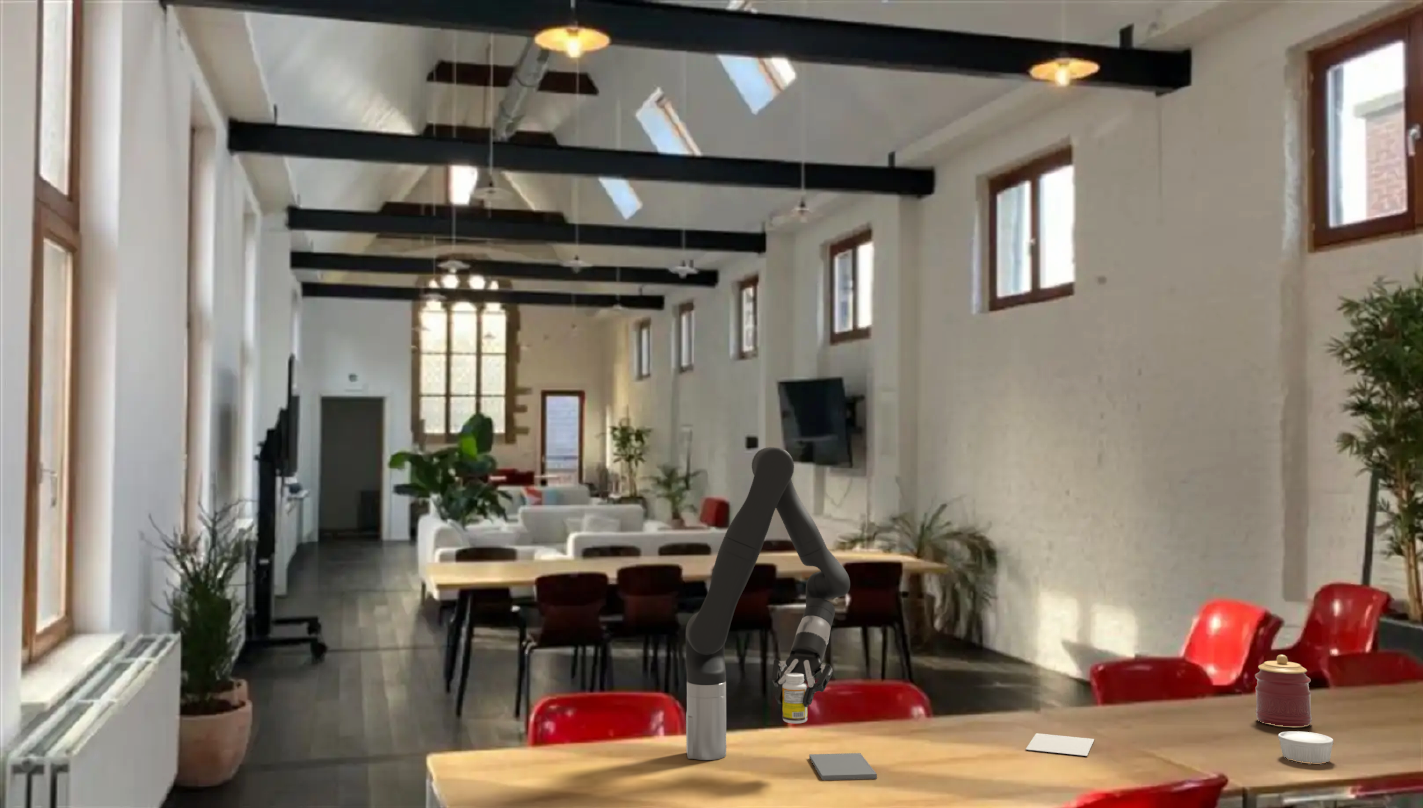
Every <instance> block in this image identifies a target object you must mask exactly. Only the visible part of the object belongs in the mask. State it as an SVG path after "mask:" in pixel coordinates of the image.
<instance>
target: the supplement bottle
mask: <svg viewBox="0 0 1423 808" xmlns="http://www.w3.org/2000/svg"><path fill="white" fill-rule="evenodd" d="M808 687H809V686H808V683H806V682H805V680H804V675H803V674H801V673H788V674H786V682H785V683H784V684H783V687H782V697H783V702H782V720H783V722H785V723H788V724H802V723H807V721H808V707H804V705H803V698H804V695H805V692H806V688H808Z"/></svg>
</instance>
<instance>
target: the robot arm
mask: <svg viewBox="0 0 1423 808" xmlns="http://www.w3.org/2000/svg"><path fill="white" fill-rule="evenodd" d="M751 470H752V474H753V479H752V483H751V485H750V488H749V491H748V493H747V496H746V498H745V501H744V502H743V504H742V505H741V507H740V509H739V510H738V511H737V513H736V514H735V516H734V518H733V520H732V521H731V523H730V524H729V526H728V528H727V530H726V531H725V535H724V537H723V539H722V541H721V544H720V547H719V549H718V552H717V555H716V558H715V563H714V566H713V570H712V575H711V579H710V585H709V588H708V591H707V594H706V597H705V599H704V601H703V602H702V605H701V606H700V608H699V611H697V612H696V613H694V614H693V615H692V616H690V618H689V620H688V621H687V624H686V627H685V668H686V669H685V670H686V713H685V714H686V715H685V719H686V720H685V723H686V724H685V728H686V731H685V732H686V735H685V736H686V737H685V738H686V740H685V741H686V742H685V743H686V745H685V747H686V750H685V751H686V758H687V759H688V760H689V759H692V760H693V759H694V760H700V761H711V760H712V761H713V760H719V759H723V758H725V757H726V756H727V669H726V659H725V643H726V642H727V638H728V635H729V631H730V628H731V623H732V620H733V616H734V613H735V610H736V607H737V604H738V602H739V599H740V597H741V595H742V593H743V591H744V590H745V587H746V586H747V583H748V581H749V579H750V577H751V575H752V573H753V571H754V567H755V566H756V563H757V561H758V559H759V556H760V554H761V551H762V548H763V545H764V543H765V540H766V536H767V534H768V532H769V529H770V525H771V523H772V522H771V521H772V520H773V519H772V518H773V516H774V513H775V510H777V512H778V515H779V516H780V519H781V521H782V523H783V524H784V528H785V530H786V532H787V533H788V536H789V538H790V540H791V543H792V545H793V547H794V549H795V551H796V554H797V555H798V557H799V560H800V561H801V563H802V564H803V565H804V566H806V567H814V568H817V569H818V570H819V571H817V572H814V573H812V574H811V575H810V576H809V578H808V579H807V580H806V584H805V608H804V611H803V614H802V617H801V621H800V623H799V624H798V626H797V629H796V632H795V636H794V639H793V643H792V645H791V650H790V652H789V656H788V657H787V659H785V660H780V659H779V658H775V659H774V660H773V666H772V672H771V673H772V674H771V681H772V683H773V685H774V687H775V688H776V691H775V694H774V697H775V700H776V702H777V703H778V704H779V705H783V697H782V687H783V684H784V683H785V682H786V674H788V673H801V674H803V675H804V682H805V681H806V682H807V687H808V688H806V692H805V695H804V698H803V705H804V707H807V708H808V707H809V706H810V705H811V704H812V703H813V700H814V696H815V693H817V692H820V693H822V692H824V691H825V690H826V687H827V686H828V683H829V682H830V679H831V677H832V676H833V674H834V670H833V667H832V666H831V663H826V664H822V663H823V660H824V657H825V654H826V651H827V646H828V644H829V642H830V640H829V639H830V634H831V628H832V626H833V622H834V618H835V613H836V608H835V606H834V604H833V603H832V602H831V601H829V600H833V599H836V598H840V597H841V598H842V597H844V596H846V595H847V594H848V593H849V591H850V588H851V580H850V577H849V574H848V572H847V571H846V568H845V567H844V566H843V565H842V564H841V563H840V561H838V559H837V558H836V557H835V555H834V554H833V553H832V552H831V551H830V550H829V548H828V547H827V544H826V543H825V540H824V538H823V536H822V534H821V532H820V530H819V528H818V526H817V524H816V523H815V520H814V519H813V518H812V516H811V515H810V513H809V512H808V510H807V509H806V506H804V504H803V502H802V500H801V499H800V497H799V494H798V492H797V491H796V488H795V486H794V483H793V480H792V477H793V474H794V470H795V462H794V459H793V457H792V456H791V454H790V453H789V452H788V451H787V450H786V449H784V448H780V447H771V446H770V447H768V446H767V447H764V448H762V449H759V450H758V451H757V452H756V453H755V454H754V456H753V458H752V460H751ZM786 667H787V668H786ZM785 668H786V670H785ZM784 670H785V671H784ZM783 671H784V673H783V674H782V672H783ZM820 672H821V674H820V676H819V677H818V680H817V681H816V680H815V676H816V675H817V674H818V673H820ZM815 681H816V682H815Z"/></svg>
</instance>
